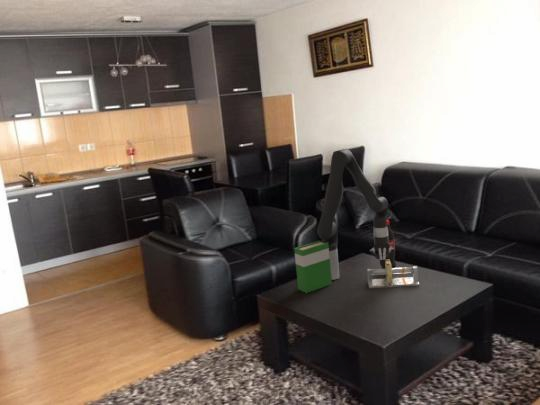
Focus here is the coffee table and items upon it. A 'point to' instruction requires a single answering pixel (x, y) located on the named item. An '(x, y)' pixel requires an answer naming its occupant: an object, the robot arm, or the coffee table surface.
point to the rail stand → (396, 281)
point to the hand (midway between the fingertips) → (383, 265)
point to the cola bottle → (392, 245)
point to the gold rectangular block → (389, 271)
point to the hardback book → (313, 266)
